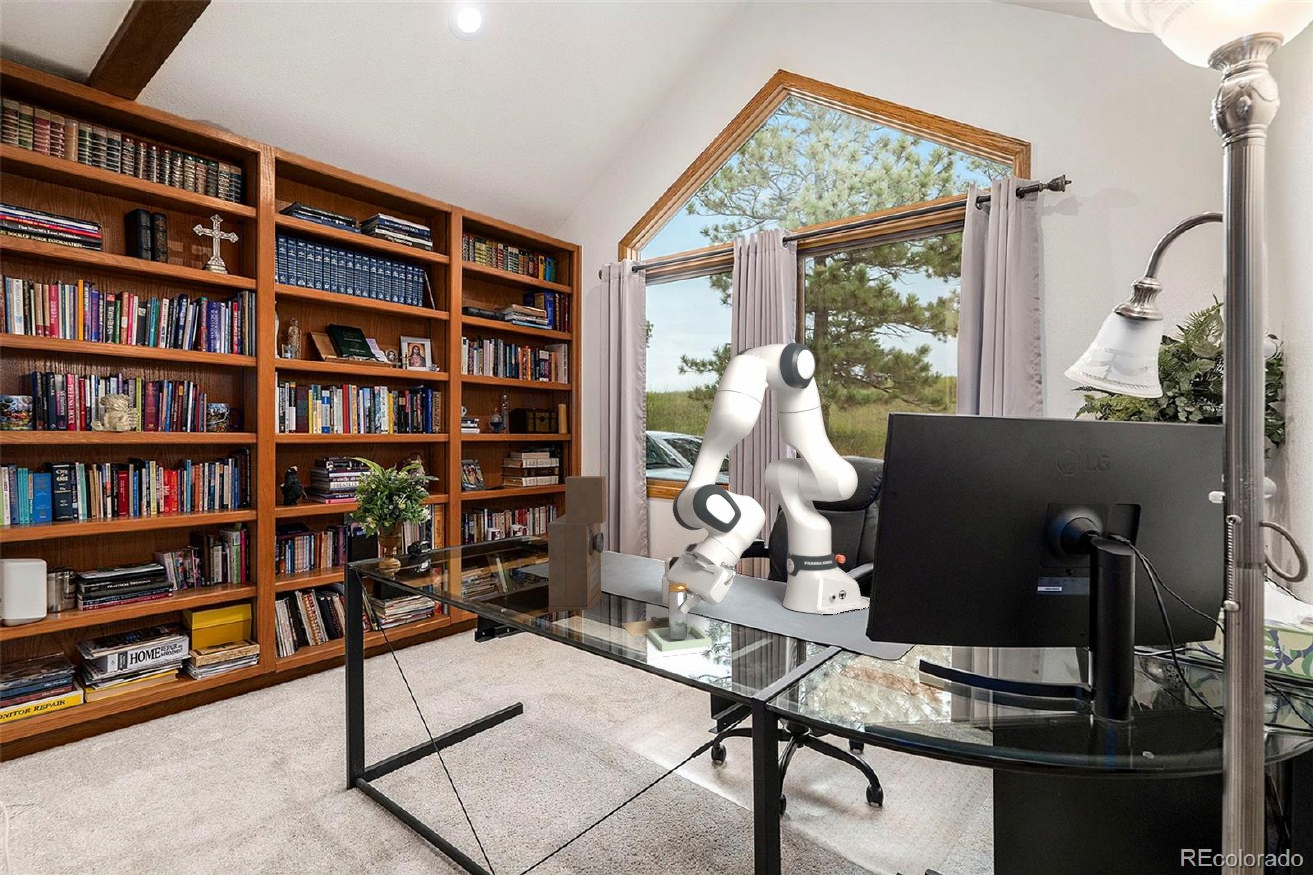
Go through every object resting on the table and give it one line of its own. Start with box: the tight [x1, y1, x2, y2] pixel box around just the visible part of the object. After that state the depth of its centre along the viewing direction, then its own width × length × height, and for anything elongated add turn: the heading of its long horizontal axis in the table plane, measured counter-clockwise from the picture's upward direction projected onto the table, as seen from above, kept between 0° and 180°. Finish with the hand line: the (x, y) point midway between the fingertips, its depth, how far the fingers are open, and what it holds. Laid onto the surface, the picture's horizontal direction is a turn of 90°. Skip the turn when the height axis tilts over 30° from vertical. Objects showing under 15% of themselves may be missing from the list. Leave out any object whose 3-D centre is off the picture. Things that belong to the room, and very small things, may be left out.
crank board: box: [620, 616, 669, 637], centre depth 154 cm, size 13×10×3 cm
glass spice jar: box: [668, 583, 688, 640], centre depth 143 cm, size 4×4×11 cm
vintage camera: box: [547, 475, 607, 614], centre depth 178 cm, size 19×14×35 cm
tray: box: [647, 624, 713, 658], centre depth 143 cm, size 11×11×3 cm
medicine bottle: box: [661, 556, 690, 604], centre depth 180 cm, size 7×7×12 cm
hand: (675, 608), depth 143 cm, fingers closed on glass spice jar, 4 cm apart
